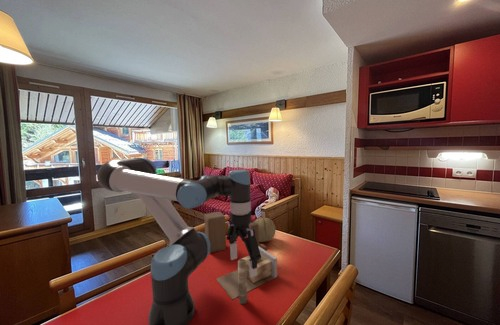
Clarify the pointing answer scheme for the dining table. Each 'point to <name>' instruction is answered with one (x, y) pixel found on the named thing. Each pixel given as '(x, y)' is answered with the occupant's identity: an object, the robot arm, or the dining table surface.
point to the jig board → (231, 283)
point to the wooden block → (257, 234)
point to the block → (215, 231)
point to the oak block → (259, 269)
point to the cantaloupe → (265, 229)
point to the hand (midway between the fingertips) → (243, 266)
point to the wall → (271, 258)
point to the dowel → (242, 281)
